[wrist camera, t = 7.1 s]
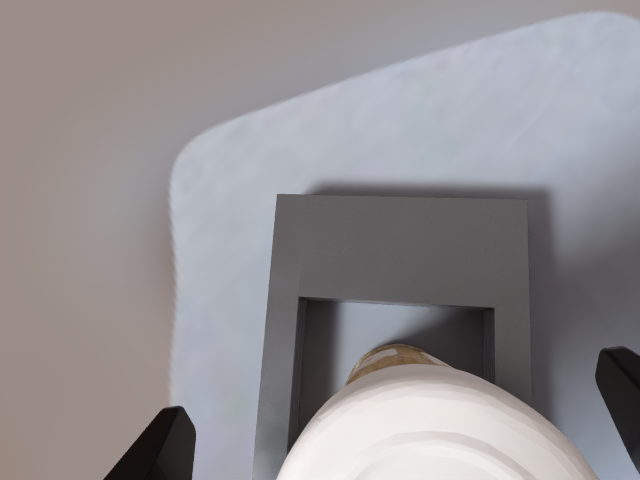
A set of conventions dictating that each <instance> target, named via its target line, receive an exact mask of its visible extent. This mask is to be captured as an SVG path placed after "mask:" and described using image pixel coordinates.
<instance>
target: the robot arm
mask: <svg viewBox="0 0 640 480" xmlns="http://www.w3.org/2000/svg"><path fill="white" fill-rule="evenodd" d="M595 379H596V383H597V386H598V388H599V391H600V393H601V395H602V397H603V399H604V402H605V404H606V406H607V408H608V410H609V413H610V415H611V417H612V419H613V421H614V423H615V426H616V428H617V430H618V432H619V434H620V437H621V439H622V441H623V443H624V445H625V447H626V450H627V452H628V454H629V456H630V458H631V460H632V462H633V463H634V465H635V467H636V469H637V470H638V472H639V474H640V356H639V355H638V354H636V353H635V352H633V351H631V350H630V349H628V348H626V347H623V346H617V347H610V348H604V349H602V350H601V351H600V353H599V358H598V363H597V368H596V373H595ZM195 442H196V430H195V427H194V425H193V423H192V421H191V420H190V418H189V416H188V415H187V413H186V411H185V409H184V408H183V407H181V406H172V407H166V408H164V409H162V410H161V411H160V412H159V413H158V415H157V416H156V417H155V418H154V419H153V421H152V422H151V423H150V424H149V425H148V427H147V428H146V429H145V430H144V431H143V433H142V434H141V435H140V436H139V437H138V439H137V440H136V441H135V442H134V443H133V445H132V446H131V447H130V448H129V449H128V451H127V452H126V453H125V454H124V455H123V457H122V458H121V459H120V460H119V461H118V463H117V464H116V465H115V466H114V467H113V469H112V470H111V471H110V472H109V473H108V475H107V476H106V477H105V478H104V479H103V480H192V472H193V462H194V452H195Z"/></svg>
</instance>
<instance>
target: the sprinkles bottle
mask: <svg viewBox="0 0 640 480" xmlns="http://www.w3.org/2000/svg"><path fill="white" fill-rule="evenodd" d="M276 480H599V478H598V477H597V476H596V474H595V473H594V471H593V470H592V468H591V467H590V466H589V464H588V463H587V461H586V460H585V459H584V457H583V456H582V454H581V453H580V452H579V451H578V449H577V448H576V447H575V446H574V445H573V444H572V443H571V442H570V441H569V440H568V439H567V438H566V437H565V436H564V435H563V434H562V433H561V432H560V431H559V430H558V429H557V428H556V427H555V426H554V425H553V424H552V423H550V422H549V421H548V420H547V419H545V418H544V417H543V416H542V415H540V414H539V413H538V412H537V411H535V410H534V409H533V408H531V407H530V406H528V405H527V404H525V403H524V402H522V401H521V400H519V399H518V398H516V397H515V396H513V395H511V394H510V393H508V392H506V391H505V390H503V389H501V388H499V387H497V386H496V385H494V384H492V383H490V382H488V381H486V380H484V379H482V378H480V377H477V376H475V375H472V374H470V373H468V372H465V371H461V370H457V369H454V368H453V367H451V366H449V365H447V364H446V363H444V362H442V361H440V360H439V359H437V358H435V357H433V356H431V355H429V354H428V353H426V352H425V351H424V350H422V349H419V348H416V347H414V346H410V345H406V344H391V345H384V346H381V347H379V348H377V349H374V350H373V351H371V352H368V353H367V354H365V355H364V356H363V357H362V358H361V359H360V360H359V362H358V363H357V364H356V365H355V366H354V368H353V370H352V372H351V374H350V376H349V378H348V380H347V382H346V384H345V386H344V387H343V388H342V389H341V390H339V391H338V392H337V393H336V394H334V395H333V396H332V397H331V398H330V399H329V400H328V401H327V402H326V403H325V404H324V405H323V406H322V407H321V408H320V409H319V410H318V412H317V413H316V414H315V415H314V416H313V418H312V419H311V420H310V422H309V423H308V424H307V425H306V427H305V428H304V430H303V432H302V433H301V435H300V436H299V438H298V439H297V441H296V442H295V444H294V446H293V447H292V449H291V450H290V452H289V454H288V455H287V457H286V459H285V461H284V463H283V465H282V468H281V470H280V472H279V474H278V476H277V479H276Z"/></svg>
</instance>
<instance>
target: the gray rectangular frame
mask: <svg viewBox="0 0 640 480" xmlns="http://www.w3.org/2000/svg"><path fill="white" fill-rule="evenodd" d="M307 300H319V301H336V302H353V303H370V304H387V305H405V306H422V307H439V308H456V309H473V310H483V379H484V380H486V381H488V382H490V383H492V384H494V385H496V386H497V387H499V388H501V389H503V390H505V391H506V392H508V393H510V394H511V395H513V396H515V397H516V398H518V399H519V400H521V401H522V402H524V403H525V404H527V405H528V406H530V407H531V408H532V371H531V332H530V293H529V255H528V216H527V199H486V198H439V197H392V196H344V195H297V194H277V201H276V212H275V223H274V235H273V246H272V257H271V269H270V280H269V291H268V303H267V314H266V325H265V337H264V348H263V359H262V371H261V382H260V393H259V405H258V416H257V427H256V438H255V450H254V461H253V472H252V480H276V479H277V476H278V474H279V472H280V470H281V468H282V465H283V463H284V461H285V459H286V457H287V455H288V454H289V452H290V450H291V449H292V447H293V446H294V444H295V442H296V441H297V433H298V419H299V405H300V391H301V377H302V362H303V348H304V334H305V320H306V306H307Z"/></svg>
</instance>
